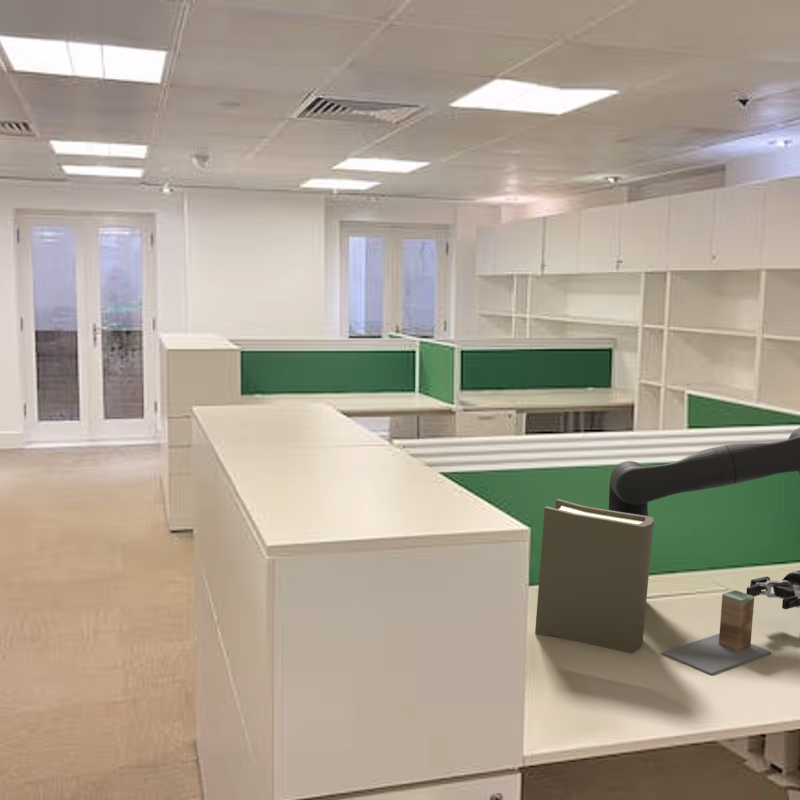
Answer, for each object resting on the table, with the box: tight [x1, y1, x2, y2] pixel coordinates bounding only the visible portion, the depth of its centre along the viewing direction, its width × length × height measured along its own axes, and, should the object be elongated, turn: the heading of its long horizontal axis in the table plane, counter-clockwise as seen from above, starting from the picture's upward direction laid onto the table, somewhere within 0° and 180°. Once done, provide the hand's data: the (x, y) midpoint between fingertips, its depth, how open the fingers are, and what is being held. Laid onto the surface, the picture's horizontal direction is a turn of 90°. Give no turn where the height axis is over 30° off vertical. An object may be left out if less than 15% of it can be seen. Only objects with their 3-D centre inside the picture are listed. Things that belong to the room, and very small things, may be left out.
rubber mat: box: [661, 632, 772, 676], centre depth 187 cm, size 20×12×1 cm, turn 125°
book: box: [534, 498, 655, 654], centre depth 193 cm, size 22×9×28 cm, turn 63°
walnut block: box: [718, 590, 755, 652], centre depth 190 cm, size 4×4×11 cm
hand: (765, 598), depth 195 cm, fingers open, 8 cm apart
